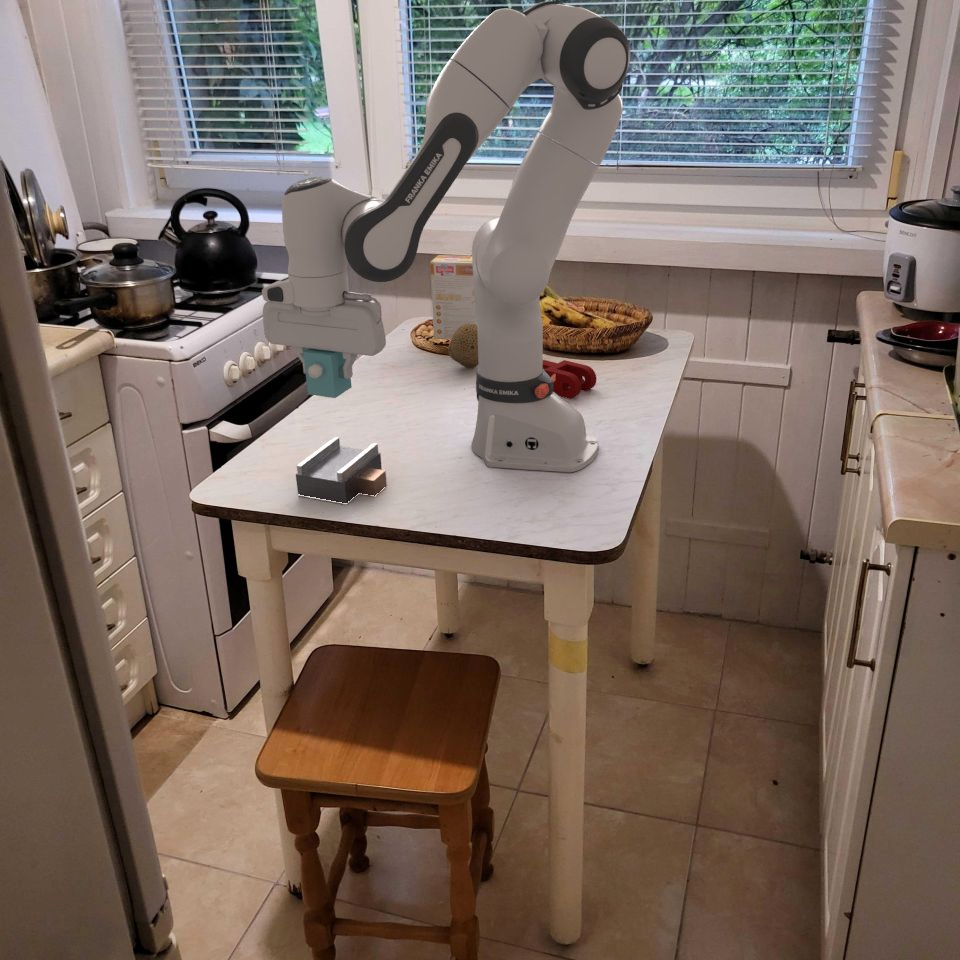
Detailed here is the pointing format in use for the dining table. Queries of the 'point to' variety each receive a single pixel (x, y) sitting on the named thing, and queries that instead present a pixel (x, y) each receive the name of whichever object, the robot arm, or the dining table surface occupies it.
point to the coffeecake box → (452, 294)
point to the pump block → (325, 373)
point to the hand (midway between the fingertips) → (328, 375)
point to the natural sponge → (465, 346)
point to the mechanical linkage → (570, 377)
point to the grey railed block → (341, 472)
